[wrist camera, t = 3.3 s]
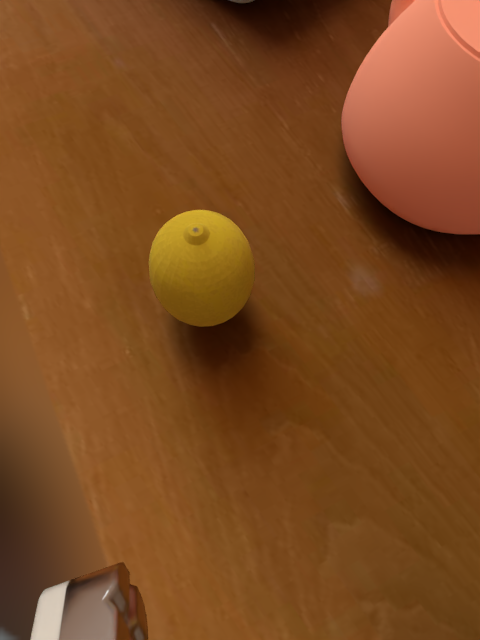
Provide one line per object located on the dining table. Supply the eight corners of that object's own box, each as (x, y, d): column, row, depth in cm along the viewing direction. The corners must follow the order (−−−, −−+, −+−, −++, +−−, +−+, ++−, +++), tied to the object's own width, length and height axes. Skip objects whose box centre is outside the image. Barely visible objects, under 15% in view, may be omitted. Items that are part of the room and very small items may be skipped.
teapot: (284, 72, 33) (308, -143, 22) (453, 34, 35) (557, -184, 24) (407, 317, 26) (542, 181, 14) (616, 252, 27) (886, 84, 16)
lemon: (144, 311, 26) (106, 240, 18) (200, 248, 27) (186, 160, 20) (216, 363, 25) (207, 309, 17) (270, 293, 26) (282, 217, 19)
